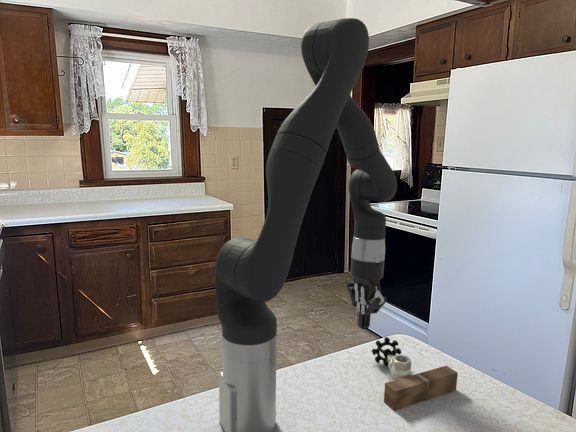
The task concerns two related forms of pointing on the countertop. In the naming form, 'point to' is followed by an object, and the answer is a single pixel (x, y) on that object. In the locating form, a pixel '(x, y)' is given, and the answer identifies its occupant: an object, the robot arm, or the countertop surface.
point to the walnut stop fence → (420, 387)
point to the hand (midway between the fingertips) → (363, 327)
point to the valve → (393, 359)
